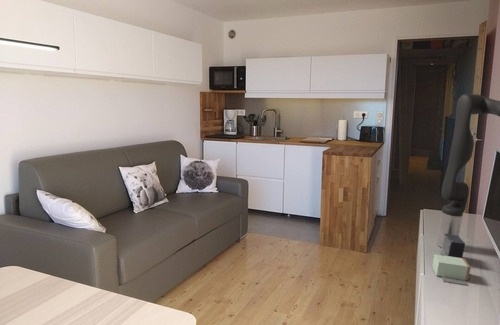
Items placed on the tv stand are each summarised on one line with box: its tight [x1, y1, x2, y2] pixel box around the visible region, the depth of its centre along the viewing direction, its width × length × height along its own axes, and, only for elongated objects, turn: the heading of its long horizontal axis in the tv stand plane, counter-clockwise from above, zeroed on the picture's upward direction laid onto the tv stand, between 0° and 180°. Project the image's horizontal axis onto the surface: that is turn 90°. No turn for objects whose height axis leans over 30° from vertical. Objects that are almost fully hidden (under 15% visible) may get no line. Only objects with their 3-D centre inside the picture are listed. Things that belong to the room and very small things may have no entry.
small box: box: [440, 233, 466, 258], centre depth 176 cm, size 11×6×10 cm, turn 168°
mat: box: [440, 276, 469, 286], centre depth 161 cm, size 14×9×1 cm, turn 167°
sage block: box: [431, 253, 471, 281], centre depth 161 cm, size 8×6×12 cm
